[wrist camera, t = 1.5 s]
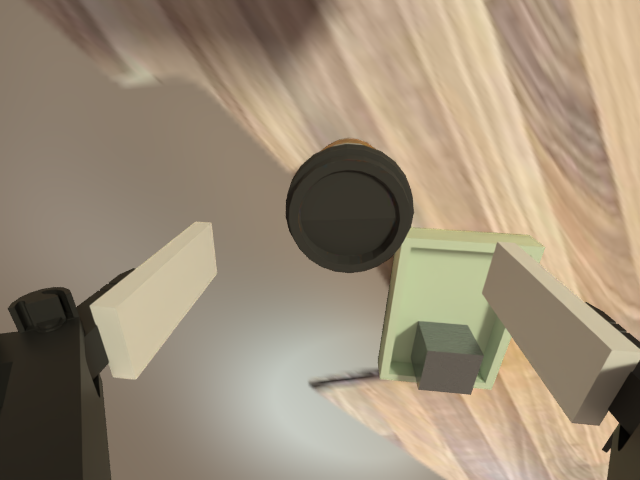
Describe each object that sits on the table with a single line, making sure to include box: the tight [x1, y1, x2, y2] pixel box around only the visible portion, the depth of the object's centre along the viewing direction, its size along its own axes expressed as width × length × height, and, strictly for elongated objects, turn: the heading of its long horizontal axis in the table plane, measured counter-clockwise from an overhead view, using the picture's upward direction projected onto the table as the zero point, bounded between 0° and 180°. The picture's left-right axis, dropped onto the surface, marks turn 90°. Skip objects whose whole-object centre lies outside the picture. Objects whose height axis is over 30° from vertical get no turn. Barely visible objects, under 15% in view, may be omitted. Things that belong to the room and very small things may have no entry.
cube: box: [411, 321, 484, 395], centre depth 37 cm, size 6×6×5 cm
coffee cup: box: [286, 138, 414, 273], centre depth 25 cm, size 8×8×15 cm
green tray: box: [378, 228, 545, 390], centre depth 37 cm, size 20×14×3 cm
